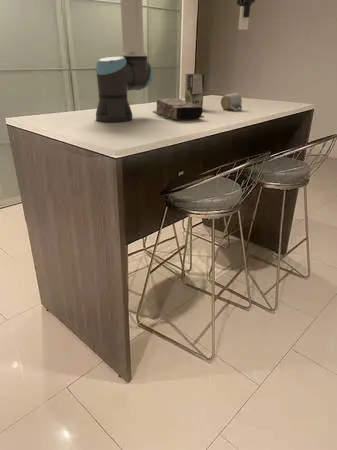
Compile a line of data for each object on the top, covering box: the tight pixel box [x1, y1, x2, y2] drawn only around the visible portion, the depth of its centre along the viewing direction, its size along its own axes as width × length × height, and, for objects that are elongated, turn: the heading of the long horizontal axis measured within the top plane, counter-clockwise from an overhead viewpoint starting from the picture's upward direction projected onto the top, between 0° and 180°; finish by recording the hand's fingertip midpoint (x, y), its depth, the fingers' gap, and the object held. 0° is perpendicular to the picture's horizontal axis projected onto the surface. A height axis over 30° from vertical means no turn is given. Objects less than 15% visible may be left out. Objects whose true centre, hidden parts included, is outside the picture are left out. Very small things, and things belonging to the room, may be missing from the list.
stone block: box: [155, 98, 204, 121], centre depth 148 cm, size 13×7×20 cm
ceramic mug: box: [220, 92, 243, 112], centre depth 169 cm, size 11×8×8 cm
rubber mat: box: [152, 110, 205, 120], centre depth 156 cm, size 18×20×1 cm
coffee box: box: [184, 73, 205, 109], centre depth 172 cm, size 9×6×16 cm
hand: (243, 29), depth 113 cm, fingers closed
